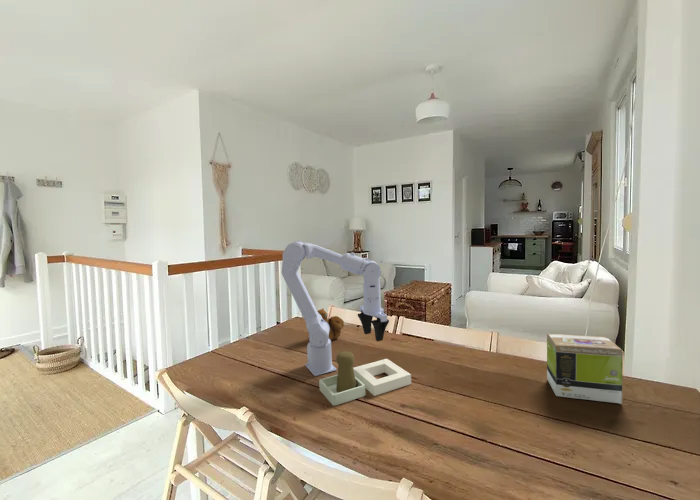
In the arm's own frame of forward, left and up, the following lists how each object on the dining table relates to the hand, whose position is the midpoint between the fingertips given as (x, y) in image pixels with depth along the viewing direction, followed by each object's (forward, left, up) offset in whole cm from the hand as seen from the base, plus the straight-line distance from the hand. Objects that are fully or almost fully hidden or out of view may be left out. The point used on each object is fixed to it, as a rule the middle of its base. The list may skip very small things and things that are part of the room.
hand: (373, 337), depth 108 cm
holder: (+9, -3, -10) cm, 14 cm away
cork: (+9, -15, -10) cm, 20 cm away
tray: (+9, -16, -10) cm, 21 cm away
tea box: (+43, +41, -11) cm, 60 cm away
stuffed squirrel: (-32, -4, -11) cm, 34 cm away
